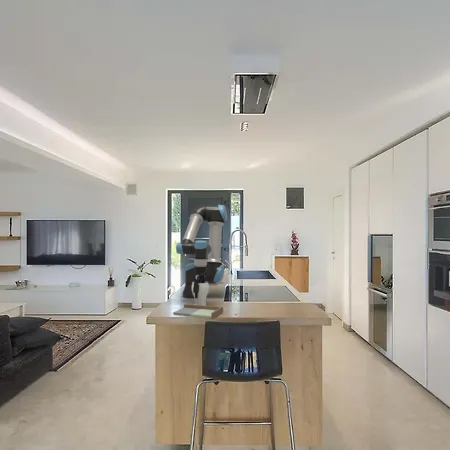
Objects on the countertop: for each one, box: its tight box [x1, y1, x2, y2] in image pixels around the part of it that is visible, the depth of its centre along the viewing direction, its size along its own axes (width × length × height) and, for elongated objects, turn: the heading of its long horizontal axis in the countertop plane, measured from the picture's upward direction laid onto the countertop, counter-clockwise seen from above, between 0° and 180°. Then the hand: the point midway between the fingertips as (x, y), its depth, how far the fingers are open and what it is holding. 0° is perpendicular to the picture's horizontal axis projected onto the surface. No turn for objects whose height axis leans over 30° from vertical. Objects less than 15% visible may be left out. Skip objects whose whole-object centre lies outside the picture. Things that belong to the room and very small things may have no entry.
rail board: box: [172, 303, 224, 319], centre depth 244 cm, size 16×24×3 cm, turn 72°
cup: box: [192, 281, 210, 306], centre depth 262 cm, size 11×11×15 cm
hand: (200, 301), depth 262 cm, fingers closed on cup, 11 cm apart
